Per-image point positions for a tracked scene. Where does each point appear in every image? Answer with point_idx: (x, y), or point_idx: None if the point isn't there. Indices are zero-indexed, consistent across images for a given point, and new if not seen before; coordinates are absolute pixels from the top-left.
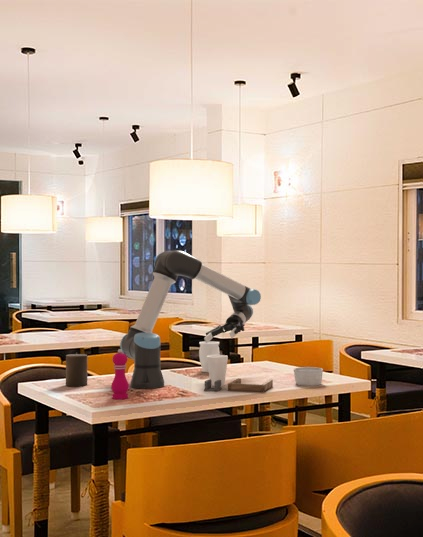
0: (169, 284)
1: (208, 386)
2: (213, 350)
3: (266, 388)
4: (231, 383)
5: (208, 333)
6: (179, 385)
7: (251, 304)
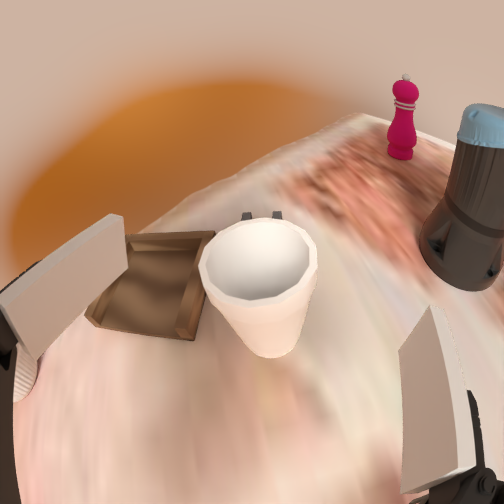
0: None
1: None
2: None
3: None
4: (204, 235)
5: (488, 469)
6: (397, 288)
7: None
